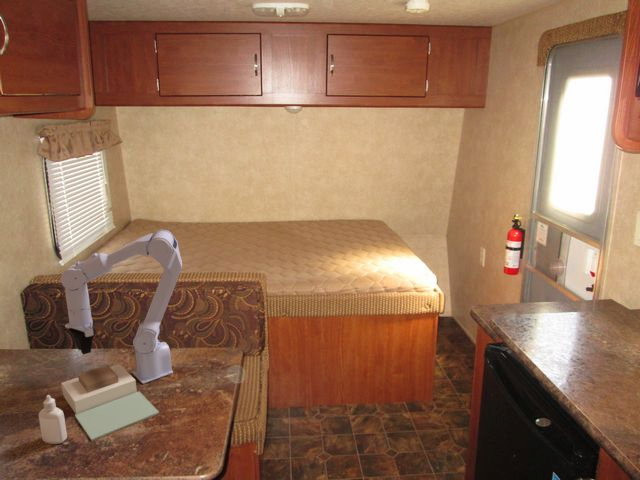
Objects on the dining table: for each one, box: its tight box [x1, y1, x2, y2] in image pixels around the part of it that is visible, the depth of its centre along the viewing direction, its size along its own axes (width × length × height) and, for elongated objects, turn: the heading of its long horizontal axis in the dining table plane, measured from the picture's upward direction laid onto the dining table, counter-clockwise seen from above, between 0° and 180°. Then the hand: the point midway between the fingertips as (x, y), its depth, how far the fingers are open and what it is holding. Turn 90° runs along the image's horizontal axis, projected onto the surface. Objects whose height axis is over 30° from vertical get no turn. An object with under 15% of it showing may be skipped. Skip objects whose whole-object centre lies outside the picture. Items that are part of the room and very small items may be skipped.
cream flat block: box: [61, 363, 138, 415], centre depth 141 cm, size 16×12×4 cm
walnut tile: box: [77, 364, 118, 393], centre depth 140 cm, size 8×8×2 cm
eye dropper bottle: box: [38, 394, 68, 445], centre depth 121 cm, size 4×6×12 cm
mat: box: [74, 391, 160, 442], centre depth 132 cm, size 17×13×1 cm
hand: (84, 350), depth 146 cm, fingers open, 3 cm apart
